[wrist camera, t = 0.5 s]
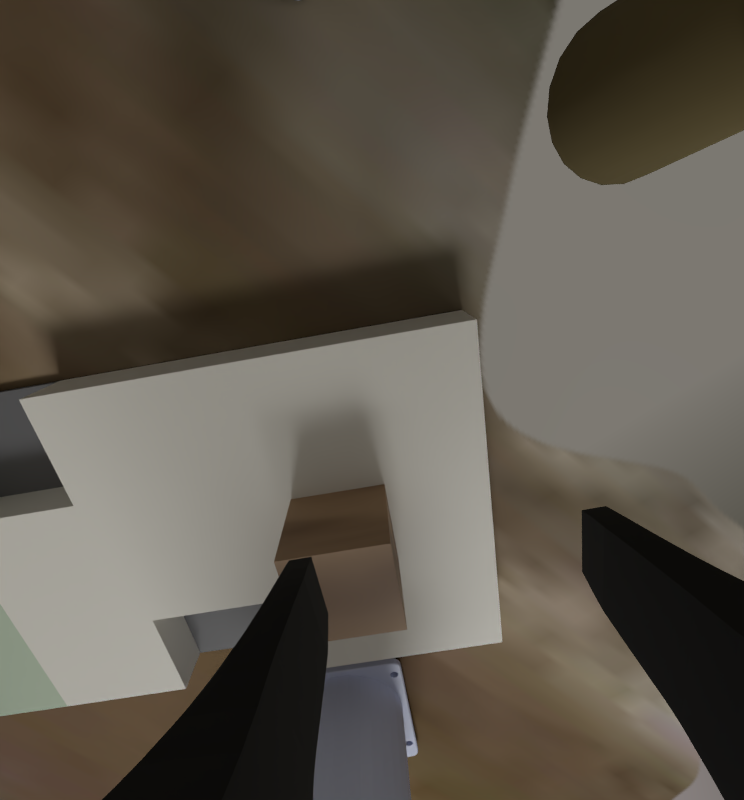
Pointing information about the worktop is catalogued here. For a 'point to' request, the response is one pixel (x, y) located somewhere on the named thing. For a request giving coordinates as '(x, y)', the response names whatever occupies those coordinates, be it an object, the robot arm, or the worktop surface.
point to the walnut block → (348, 558)
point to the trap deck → (234, 503)
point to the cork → (648, 86)
